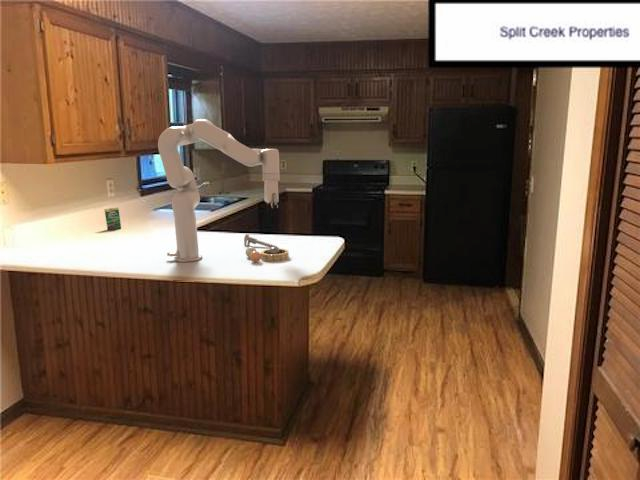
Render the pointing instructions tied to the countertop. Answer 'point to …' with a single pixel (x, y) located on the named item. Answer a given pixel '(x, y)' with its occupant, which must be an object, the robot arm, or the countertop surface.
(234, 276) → the countertop surface
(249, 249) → the cream ball
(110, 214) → the coffee box
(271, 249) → the steel ball
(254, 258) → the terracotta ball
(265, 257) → the ring
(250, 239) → the caliper
